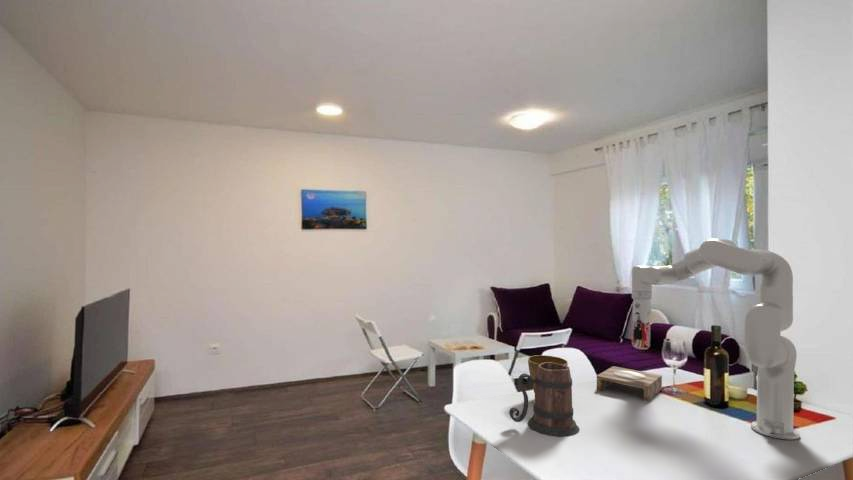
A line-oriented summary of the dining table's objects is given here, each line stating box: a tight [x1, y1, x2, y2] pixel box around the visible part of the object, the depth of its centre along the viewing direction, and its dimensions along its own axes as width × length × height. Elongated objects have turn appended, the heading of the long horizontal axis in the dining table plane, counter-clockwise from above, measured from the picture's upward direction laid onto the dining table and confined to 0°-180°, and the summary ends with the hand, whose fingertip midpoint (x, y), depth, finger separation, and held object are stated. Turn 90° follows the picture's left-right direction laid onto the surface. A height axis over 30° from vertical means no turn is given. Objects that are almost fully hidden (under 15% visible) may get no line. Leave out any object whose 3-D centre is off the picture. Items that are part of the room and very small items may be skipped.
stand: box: [596, 365, 663, 402], centre depth 189 cm, size 20×20×6 cm
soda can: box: [631, 320, 652, 350], centre depth 188 cm, size 7×7×12 cm
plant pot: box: [527, 354, 569, 394], centre depth 174 cm, size 15×15×16 cm
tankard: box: [508, 362, 581, 438], centre depth 150 cm, size 24×17×20 cm
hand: (640, 337), depth 188 cm, fingers closed on soda can, 7 cm apart
